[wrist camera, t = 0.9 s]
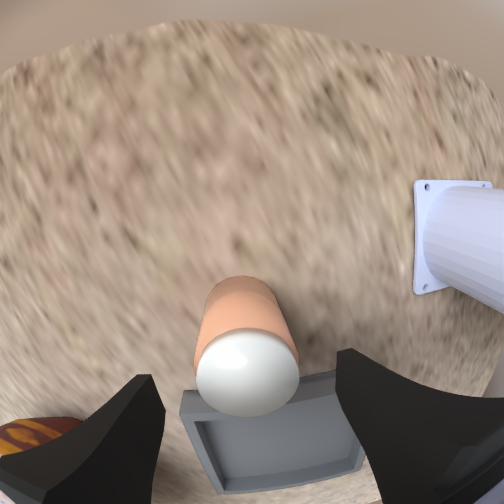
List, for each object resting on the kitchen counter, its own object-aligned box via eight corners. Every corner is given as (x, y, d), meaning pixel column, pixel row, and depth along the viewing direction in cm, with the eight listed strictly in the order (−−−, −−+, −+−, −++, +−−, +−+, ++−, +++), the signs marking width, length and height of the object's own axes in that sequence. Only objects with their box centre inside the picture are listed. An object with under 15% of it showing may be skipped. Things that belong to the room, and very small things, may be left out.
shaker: (274, 271, 16) (303, 327, 9) (279, 336, 17) (304, 411, 10) (199, 280, 16) (179, 342, 9) (211, 344, 17) (204, 423, 10)
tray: (370, 360, 18) (385, 379, 16) (352, 453, 21) (360, 470, 19) (183, 390, 18) (179, 413, 15) (217, 475, 20) (217, 494, 18)
